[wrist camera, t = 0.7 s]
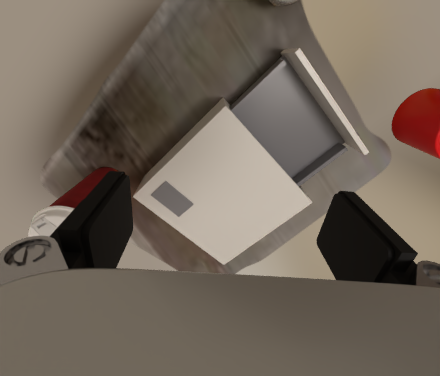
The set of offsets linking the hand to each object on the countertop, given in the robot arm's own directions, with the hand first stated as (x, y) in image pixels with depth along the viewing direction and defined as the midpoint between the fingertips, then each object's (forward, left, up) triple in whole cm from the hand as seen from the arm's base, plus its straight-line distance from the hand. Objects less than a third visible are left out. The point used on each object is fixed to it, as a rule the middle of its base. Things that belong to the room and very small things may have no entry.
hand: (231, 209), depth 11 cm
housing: (+7, +9, -25) cm, 28 cm away
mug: (-22, +22, -26) cm, 40 cm away
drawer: (-3, +9, -25) cm, 27 cm away
